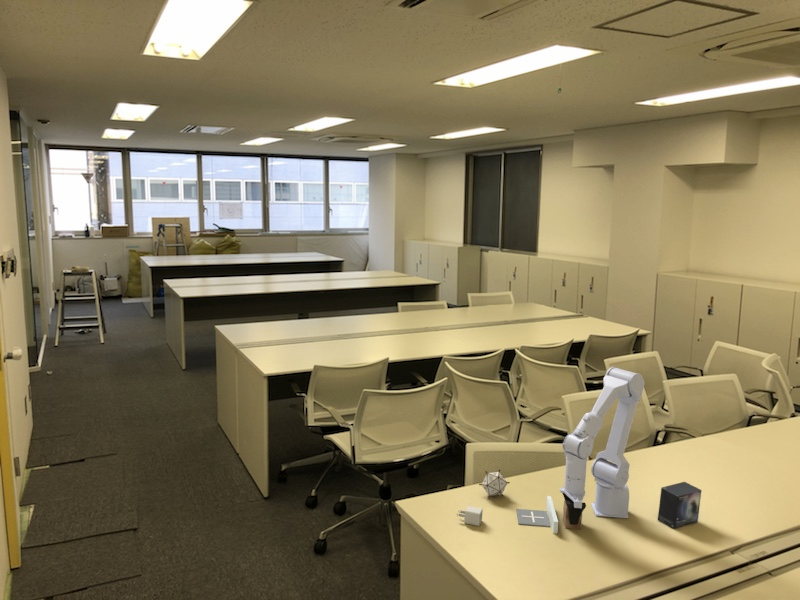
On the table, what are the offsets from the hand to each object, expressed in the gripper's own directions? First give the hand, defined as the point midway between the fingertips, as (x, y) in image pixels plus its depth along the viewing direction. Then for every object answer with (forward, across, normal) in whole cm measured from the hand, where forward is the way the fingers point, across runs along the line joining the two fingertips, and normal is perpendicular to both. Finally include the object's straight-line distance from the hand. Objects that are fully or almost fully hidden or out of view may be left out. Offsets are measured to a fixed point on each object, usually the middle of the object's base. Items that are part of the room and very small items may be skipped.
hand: (572, 519), depth 180 cm
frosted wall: (+1, -2, -6) cm, 6 cm away
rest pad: (+1, -2, -11) cm, 11 cm away
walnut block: (+1, 0, 0) cm, 1 cm away
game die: (+2, -15, -22) cm, 27 cm away
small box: (+2, -7, +32) cm, 33 cm away
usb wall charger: (+2, +3, -30) cm, 30 cm away
